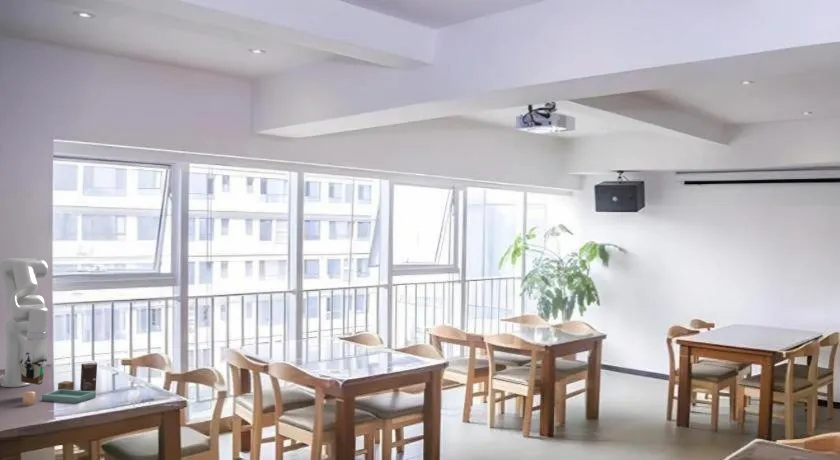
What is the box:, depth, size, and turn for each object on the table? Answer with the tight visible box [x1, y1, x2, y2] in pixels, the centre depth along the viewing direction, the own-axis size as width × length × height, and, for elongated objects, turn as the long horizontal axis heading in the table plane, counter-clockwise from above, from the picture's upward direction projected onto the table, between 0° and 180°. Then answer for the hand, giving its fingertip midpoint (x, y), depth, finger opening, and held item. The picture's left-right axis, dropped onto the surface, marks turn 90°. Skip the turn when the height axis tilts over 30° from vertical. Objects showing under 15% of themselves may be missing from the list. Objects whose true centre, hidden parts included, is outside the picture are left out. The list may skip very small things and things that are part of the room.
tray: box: [41, 389, 97, 404], centre depth 298 cm, size 17×11×2 cm, turn 80°
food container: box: [19, 359, 47, 386], centre depth 302 cm, size 12×6×10 cm, turn 75°
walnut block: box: [57, 380, 75, 390], centre depth 310 cm, size 4×4×4 cm
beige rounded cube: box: [22, 390, 36, 407], centre depth 287 cm, size 4×4×5 cm
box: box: [79, 362, 98, 391], centre depth 316 cm, size 6×4×12 cm
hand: (34, 376), depth 301 cm, fingers closed on food container, 5 cm apart
